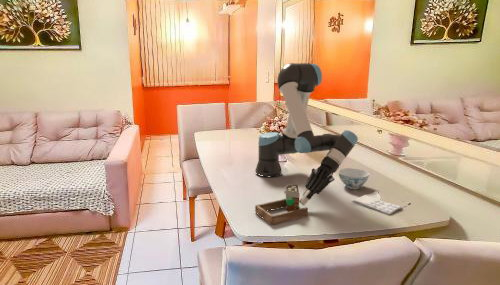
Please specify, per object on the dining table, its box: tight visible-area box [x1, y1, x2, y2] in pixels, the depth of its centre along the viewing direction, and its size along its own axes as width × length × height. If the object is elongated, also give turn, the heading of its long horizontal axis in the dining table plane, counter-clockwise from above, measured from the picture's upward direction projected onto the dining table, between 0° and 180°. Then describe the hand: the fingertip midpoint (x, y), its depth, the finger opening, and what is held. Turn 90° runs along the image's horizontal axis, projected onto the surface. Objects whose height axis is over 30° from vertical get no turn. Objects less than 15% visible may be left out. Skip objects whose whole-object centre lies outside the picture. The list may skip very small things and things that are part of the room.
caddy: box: [254, 198, 309, 226], centre depth 144 cm, size 13×18×4 cm
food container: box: [284, 183, 300, 212], centre depth 148 cm, size 12×6×10 cm, turn 175°
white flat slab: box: [351, 190, 402, 216], centre depth 156 cm, size 19×20×2 cm
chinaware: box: [338, 167, 370, 190], centre depth 176 cm, size 15×15×8 cm
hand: (301, 203), depth 148 cm, fingers closed
